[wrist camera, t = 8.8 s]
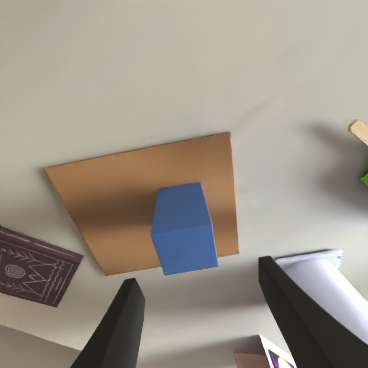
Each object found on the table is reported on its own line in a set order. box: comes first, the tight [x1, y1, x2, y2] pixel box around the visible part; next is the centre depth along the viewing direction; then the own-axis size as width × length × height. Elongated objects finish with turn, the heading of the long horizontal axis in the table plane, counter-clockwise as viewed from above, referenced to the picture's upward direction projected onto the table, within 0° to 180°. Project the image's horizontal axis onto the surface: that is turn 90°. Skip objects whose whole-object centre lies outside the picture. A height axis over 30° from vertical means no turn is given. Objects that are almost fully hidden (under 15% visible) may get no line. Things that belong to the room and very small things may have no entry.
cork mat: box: [44, 132, 239, 276], centre depth 19 cm, size 14×16×1 cm
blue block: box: [151, 182, 218, 275], centre depth 15 cm, size 4×4×6 cm
